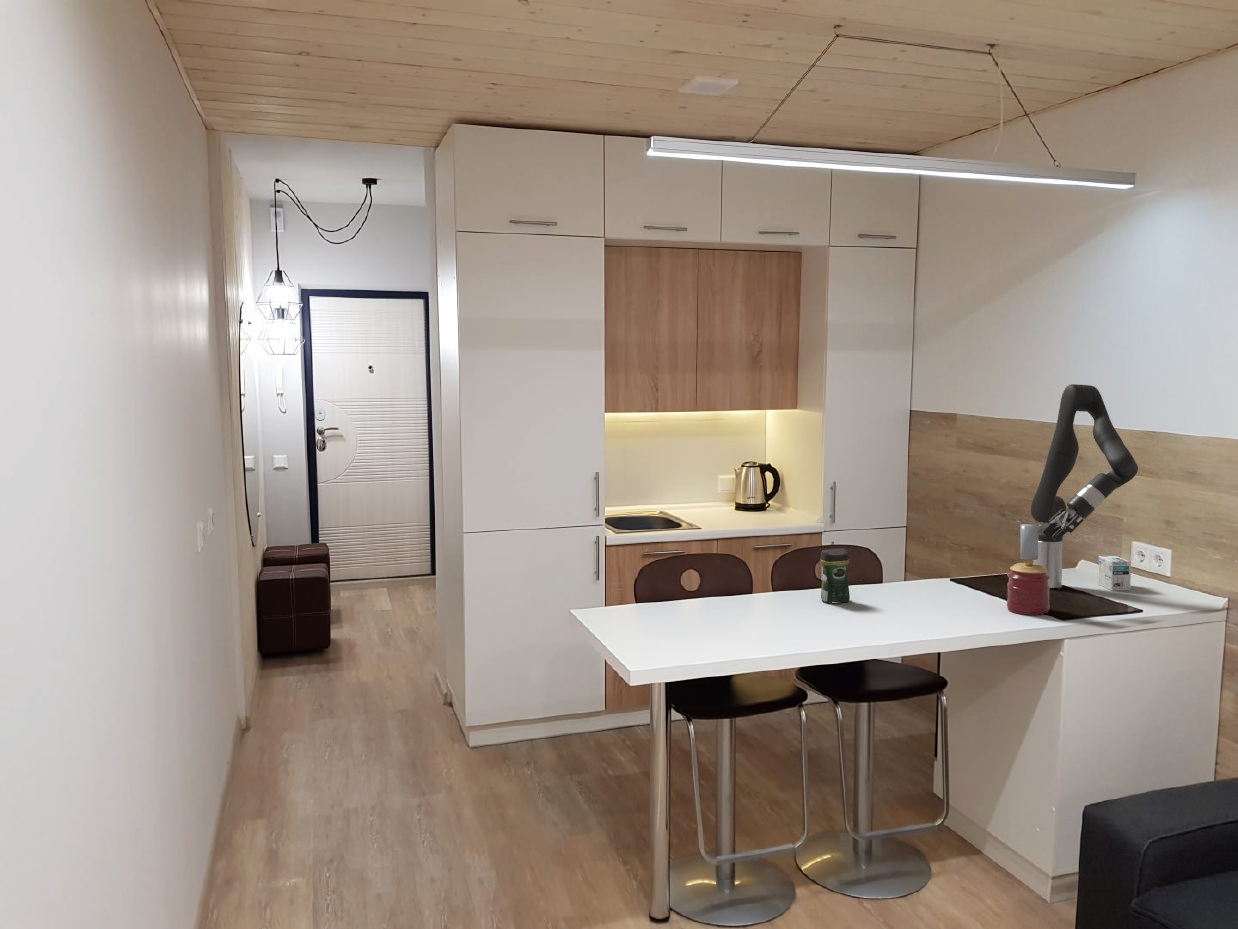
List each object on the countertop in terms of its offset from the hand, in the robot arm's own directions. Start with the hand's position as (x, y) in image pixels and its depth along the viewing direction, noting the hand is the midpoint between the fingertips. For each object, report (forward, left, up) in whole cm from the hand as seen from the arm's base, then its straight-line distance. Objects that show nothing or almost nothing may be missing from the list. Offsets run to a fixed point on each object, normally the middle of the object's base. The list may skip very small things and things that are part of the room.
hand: (1049, 536), depth 306 cm
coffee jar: (-43, -54, -25) cm, 73 cm away
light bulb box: (-13, +45, -25) cm, 53 cm away
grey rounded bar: (-3, -6, -7) cm, 10 cm away
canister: (-3, -6, -25) cm, 26 cm away
